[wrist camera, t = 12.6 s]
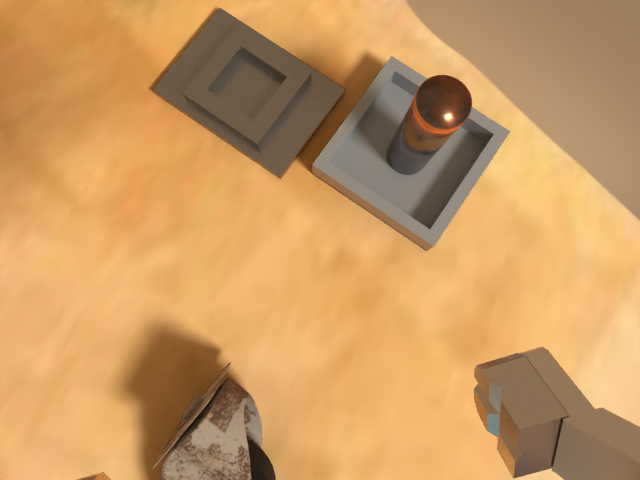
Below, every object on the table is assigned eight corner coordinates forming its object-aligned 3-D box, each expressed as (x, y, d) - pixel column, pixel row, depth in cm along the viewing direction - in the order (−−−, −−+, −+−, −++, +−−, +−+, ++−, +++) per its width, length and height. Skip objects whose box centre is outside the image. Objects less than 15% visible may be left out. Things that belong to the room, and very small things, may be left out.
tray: (312, 173, 42) (312, 164, 39) (387, 70, 44) (391, 55, 41) (426, 251, 41) (433, 246, 38) (498, 142, 42) (510, 131, 40)
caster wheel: (236, 533, 39) (140, 460, 39) (322, 432, 38) (226, 356, 38) (219, 602, 32) (102, 515, 32) (323, 482, 32) (205, 390, 31)
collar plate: (154, 93, 43) (147, 83, 41) (221, 11, 44) (217, -1, 43) (280, 179, 42) (279, 172, 40) (344, 92, 43) (346, 82, 41)
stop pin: (378, 160, 41) (404, 109, 30) (400, 126, 42) (434, 64, 31) (413, 183, 41) (452, 140, 30) (435, 149, 42) (482, 95, 31)
